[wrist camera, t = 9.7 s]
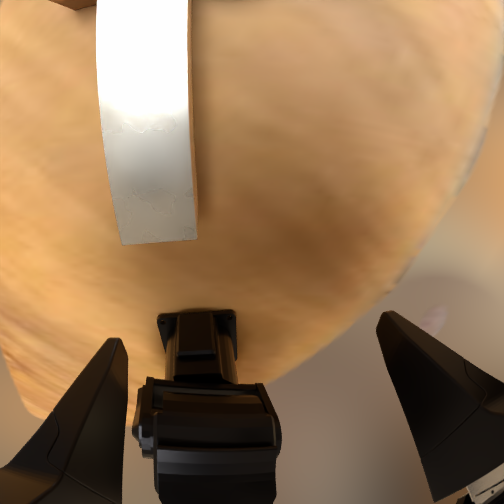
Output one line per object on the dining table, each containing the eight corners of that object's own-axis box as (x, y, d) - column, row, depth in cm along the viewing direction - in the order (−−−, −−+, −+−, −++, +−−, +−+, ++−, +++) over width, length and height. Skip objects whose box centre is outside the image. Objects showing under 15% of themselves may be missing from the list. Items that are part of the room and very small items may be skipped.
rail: (198, 200, 20) (198, 240, 15) (137, 206, 19) (120, 246, 15) (194, -40, 11) (191, -75, 7) (125, -31, 11) (101, -60, 6)
